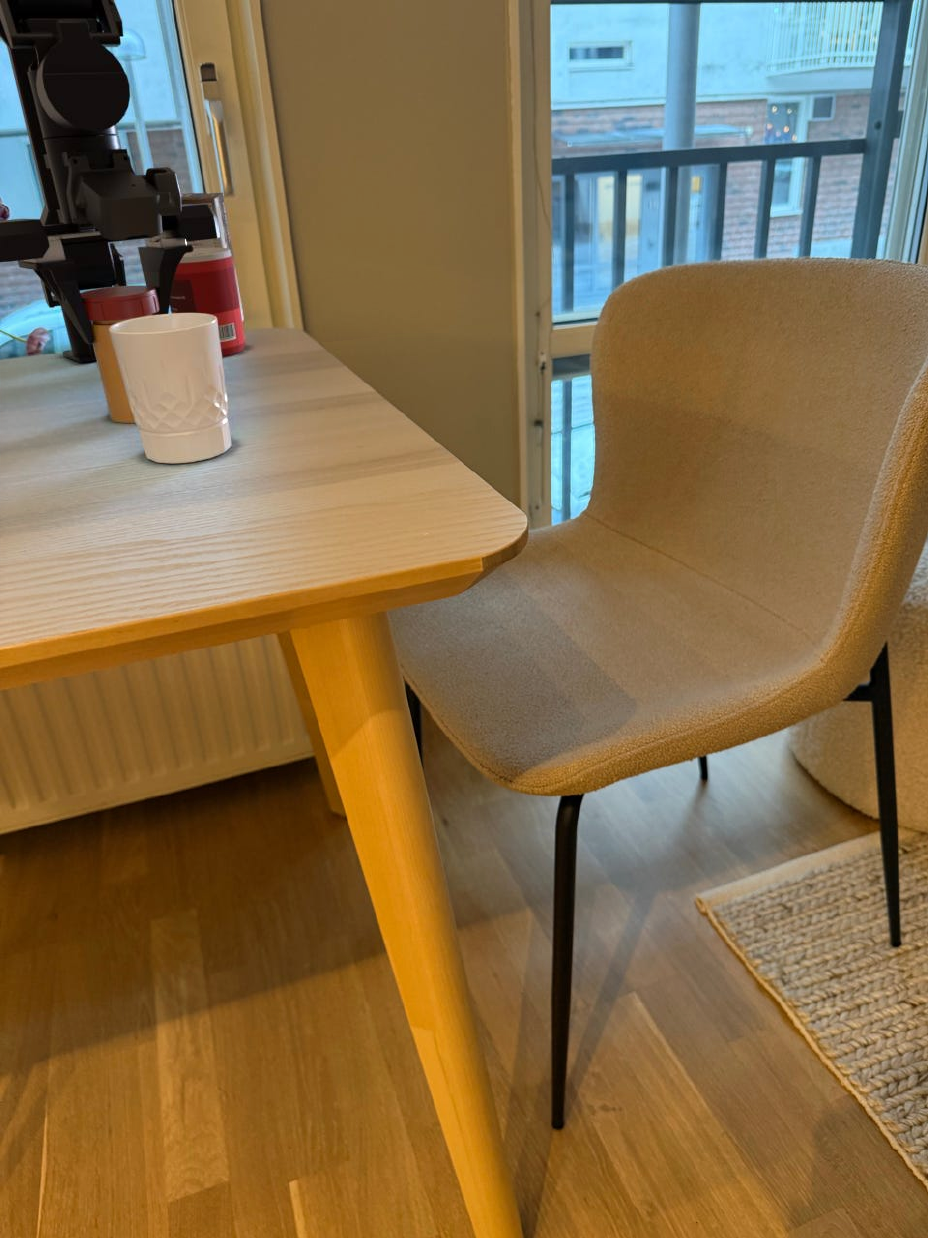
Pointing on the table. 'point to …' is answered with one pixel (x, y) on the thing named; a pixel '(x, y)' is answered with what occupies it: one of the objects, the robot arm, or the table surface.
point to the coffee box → (224, 241)
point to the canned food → (210, 293)
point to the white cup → (175, 384)
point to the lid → (120, 302)
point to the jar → (111, 372)
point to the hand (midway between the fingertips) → (126, 337)
